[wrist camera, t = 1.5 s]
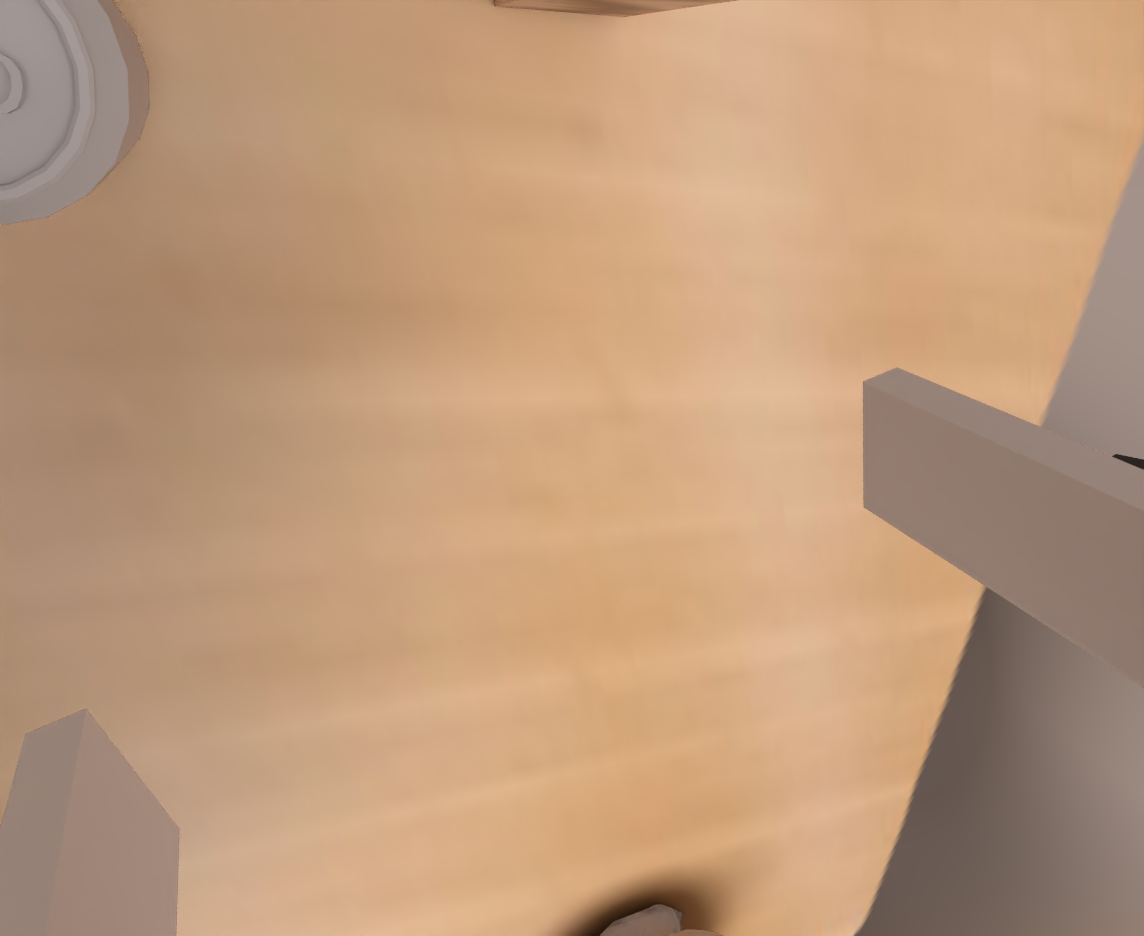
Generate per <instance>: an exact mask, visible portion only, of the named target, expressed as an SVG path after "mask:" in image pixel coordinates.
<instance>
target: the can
mask: <svg viewBox="0 0 1144 936" xmlns="http://www.w3.org/2000/svg"><path fill="white" fill-rule="evenodd" d="M148 110H149V80H148V70H147V67H146V64H145V61H144V58H143V55H142V53H141V50H140V47H139V44H138V41H137V38H136V35H135V34H134V32H133V31H132V29H131V28H130V26H129V25H128V23H127V22H126V20H125V19H124V17H123V16H122V14H121V13H120V11H119V10H118V8H117V7H116V5H115V4H114V2H113V1H112V0H0V225H5V224H11V223H17V222H22V221H28V220H34V219H40V218H46V217H48V216H50V215H52V214H54V213H56V212H58V211H59V210H61V209H63V208H65V207H67V206H69V205H71V204H72V203H74V202H76V201H78V200H80V199H82V198H83V197H85V196H87V195H88V194H89V193H90V192H91V191H92V190H93V189H94V188H95V187H96V186H97V185H98V184H99V183H100V182H101V181H102V180H103V179H104V178H105V177H106V176H107V175H108V174H109V173H110V172H111V171H112V170H113V168H114V167H115V166H116V165H117V164H118V163H119V162H120V161H121V160H122V159H123V157H124V156H125V155H126V154H127V153H128V152H129V150H130V149H131V148H132V147H133V146H134V144H135V143H136V142H137V141H138V140H139V137H140V134H141V131H142V128H143V125H144V122H145V119H146V116H147V113H148Z"/></svg>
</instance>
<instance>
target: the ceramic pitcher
mask: <svg viewBox="0 0 1144 936" xmlns="http://www.w3.org/2000/svg"><path fill="white" fill-rule="evenodd" d="M682 914H683V913H681V912H679V911H677V910H675V909H673V908H670V907H668V906H665V905H662V904H656V905H653V906H652V907H650V908H647V909H645V910H642V911H640V912H637V913H634V914H632V915H629V916H627V917H624V918H621V919H619V920H616V921H614V922H613V923H612V924H611V925H610V926H609V927H608V928H607V929H606V930H605V931H604V932H603V933H602V934H601V935H600V936H722V935H720V934H717V933H715V932H711V931H707V930H694V929H685V930H683V931H681V919H682Z"/></svg>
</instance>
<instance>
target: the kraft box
mask: <svg viewBox="0 0 1144 936" xmlns="http://www.w3.org/2000/svg"><path fill="white" fill-rule="evenodd" d="M729 1H736V0H495V6H499V7H511V8H523V9H535V10H548V11H560V12H572V13H585V14H597V15H609V16H621V17H627V16H634V15H640V14H647V13H654V12H661V11H668V10H675V9H681V8H688V7H695V6H702V5H709V4H715V3H722V2H729Z"/></svg>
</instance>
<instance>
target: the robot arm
mask: <svg viewBox="0 0 1144 936" xmlns="http://www.w3.org/2000/svg"><path fill="white" fill-rule="evenodd" d="M863 502H864V508H866V509H867V510H869V511H870V512H872V513H873V514H875V515H877V516H878V517H880V518H881V519H883V520H884V521H886V522H887V523H889V524H890V525H892V526H894V527H895V528H897V529H898V530H900V531H901V532H903V533H904V534H906V535H907V536H909V537H911V538H912V539H914V540H915V541H917V542H918V543H920V544H921V545H923V546H924V547H926V548H928V549H929V550H931V551H932V552H934V553H935V554H937V555H938V556H940V557H941V558H943V559H945V560H946V561H948V562H949V563H951V564H952V565H954V566H955V567H957V568H958V569H960V570H962V571H963V572H965V573H966V574H968V575H969V576H971V577H972V578H974V579H975V580H977V581H979V582H980V583H982V584H983V585H985V586H986V587H988V588H990V589H991V590H992V591H994V592H996V593H997V594H999V595H1000V596H1002V597H1003V598H1005V599H1006V600H1008V601H1009V602H1011V603H1013V604H1014V605H1016V606H1017V607H1019V608H1020V609H1022V610H1023V611H1025V612H1027V613H1028V614H1030V615H1031V616H1033V617H1035V618H1036V619H1037V620H1039V621H1040V622H1042V623H1043V624H1045V625H1047V626H1048V627H1050V628H1051V629H1053V630H1054V631H1056V632H1057V633H1059V634H1060V635H1062V636H1064V637H1065V638H1067V639H1068V640H1070V641H1072V642H1073V643H1074V644H1076V645H1078V646H1079V647H1081V648H1082V649H1084V650H1085V651H1087V652H1088V653H1090V654H1092V655H1093V656H1095V657H1096V658H1098V659H1099V660H1101V661H1102V662H1104V663H1105V664H1107V665H1108V666H1110V667H1111V668H1113V669H1115V670H1116V671H1118V672H1119V673H1121V674H1122V675H1124V676H1126V677H1127V678H1128V679H1130V680H1132V681H1133V682H1135V683H1136V684H1138V685H1139V686H1141V687H1142V688H1144V460H1142V459H1138V458H1132V457H1128V456H1122V455H1117V454H1116V455H1114V456H1109V455H1107V454H1104V453H1102V452H1099V451H1097V450H1095V449H1092V448H1090V447H1087V446H1085V445H1083V444H1080V443H1078V442H1075V441H1073V440H1070V439H1068V438H1066V437H1063V436H1061V435H1059V434H1056V433H1054V432H1051V431H1049V430H1046V429H1044V428H1042V427H1039V426H1037V425H1034V424H1032V423H1030V422H1027V421H1025V420H1022V419H1020V418H1018V417H1015V416H1013V415H1010V414H1008V413H1006V412H1003V411H1001V410H998V409H996V408H994V407H991V406H989V405H986V404H984V403H982V402H979V401H977V400H974V399H972V398H969V397H967V396H965V395H962V394H960V393H957V392H955V391H953V390H950V389H948V388H945V387H943V386H941V385H938V384H936V383H933V382H931V381H929V380H926V379H924V378H921V377H919V376H916V375H914V374H912V373H909V372H907V371H904V370H902V369H900V368H895V369H892V370H890V371H887V372H885V373H883V374H880V375H878V376H876V377H873V378H871V379H868V380H866V381H864V382H863ZM178 860H179V828H178V826H177V825H176V824H175V822H174V821H173V820H172V819H171V817H170V816H169V815H168V813H167V812H166V811H165V809H164V808H163V807H162V806H161V804H160V803H159V802H158V800H157V799H156V798H155V797H154V795H153V794H152V793H151V791H150V790H149V789H148V788H147V786H146V785H145V784H144V782H143V781H142V780H141V779H140V777H139V776H138V775H137V773H136V772H135V771H134V770H133V768H132V767H131V766H130V764H129V763H128V762H127V761H126V759H125V758H124V757H123V755H122V754H121V753H120V751H119V750H118V749H117V748H116V746H115V745H114V744H113V742H112V741H111V740H110V739H109V737H108V736H107V735H106V733H105V732H104V731H103V730H102V728H101V727H100V726H99V724H98V723H97V722H96V721H95V719H94V718H93V717H92V715H91V714H90V713H89V712H88V710H87V709H84V710H81V711H79V712H76V713H74V714H72V715H69V716H67V717H65V718H62V719H60V720H57V721H55V722H53V723H50V724H48V725H46V726H43V727H41V728H38V729H36V730H34V731H31V732H29V733H27V734H26V735H25V739H24V742H23V746H22V750H21V754H20V757H19V761H18V765H17V768H16V772H15V776H14V780H13V783H12V787H11V791H10V795H9V798H8V802H7V806H6V810H5V813H4V817H3V821H2V824H1V828H0V936H176V929H177V895H178Z"/></svg>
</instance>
